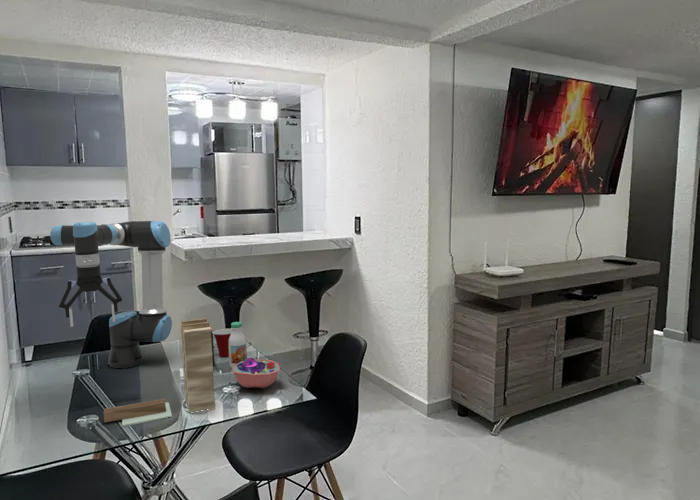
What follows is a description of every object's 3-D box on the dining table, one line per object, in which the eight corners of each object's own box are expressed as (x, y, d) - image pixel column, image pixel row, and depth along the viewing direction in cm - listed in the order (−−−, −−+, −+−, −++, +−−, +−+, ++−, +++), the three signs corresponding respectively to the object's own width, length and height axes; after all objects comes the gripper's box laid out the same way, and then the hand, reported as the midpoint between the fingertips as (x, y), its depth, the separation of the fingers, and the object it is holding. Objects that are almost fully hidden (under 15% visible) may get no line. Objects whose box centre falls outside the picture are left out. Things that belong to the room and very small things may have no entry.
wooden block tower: (185, 400, 195) (180, 319, 190) (209, 396, 199) (205, 316, 194) (189, 413, 184) (184, 328, 180) (215, 408, 188) (210, 324, 183)
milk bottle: (225, 368, 227) (223, 324, 224) (236, 362, 234) (234, 319, 231) (240, 370, 224) (238, 326, 221) (250, 364, 231) (248, 321, 228)
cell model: (263, 399, 195) (262, 370, 194) (223, 389, 205) (222, 362, 203) (289, 383, 210) (289, 356, 208) (251, 374, 220) (250, 349, 218)
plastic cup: (231, 349, 252) (230, 325, 250) (241, 355, 244) (240, 330, 242) (210, 354, 245) (208, 330, 244) (219, 360, 237) (218, 335, 235)
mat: (121, 412, 186) (121, 410, 186) (168, 403, 192) (168, 402, 192) (122, 426, 175) (122, 425, 175) (172, 417, 182) (171, 415, 182)
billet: (104, 418, 180) (104, 408, 180) (165, 407, 188) (164, 398, 187) (104, 422, 177) (103, 413, 176) (166, 411, 185) (165, 402, 184)
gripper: (46, 270, 175) (52, 330, 178) (126, 264, 185) (131, 321, 188) (49, 267, 182) (54, 325, 185) (125, 261, 192) (130, 316, 195)
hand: (93, 323), depth 187 cm, fingers open, 13 cm apart
